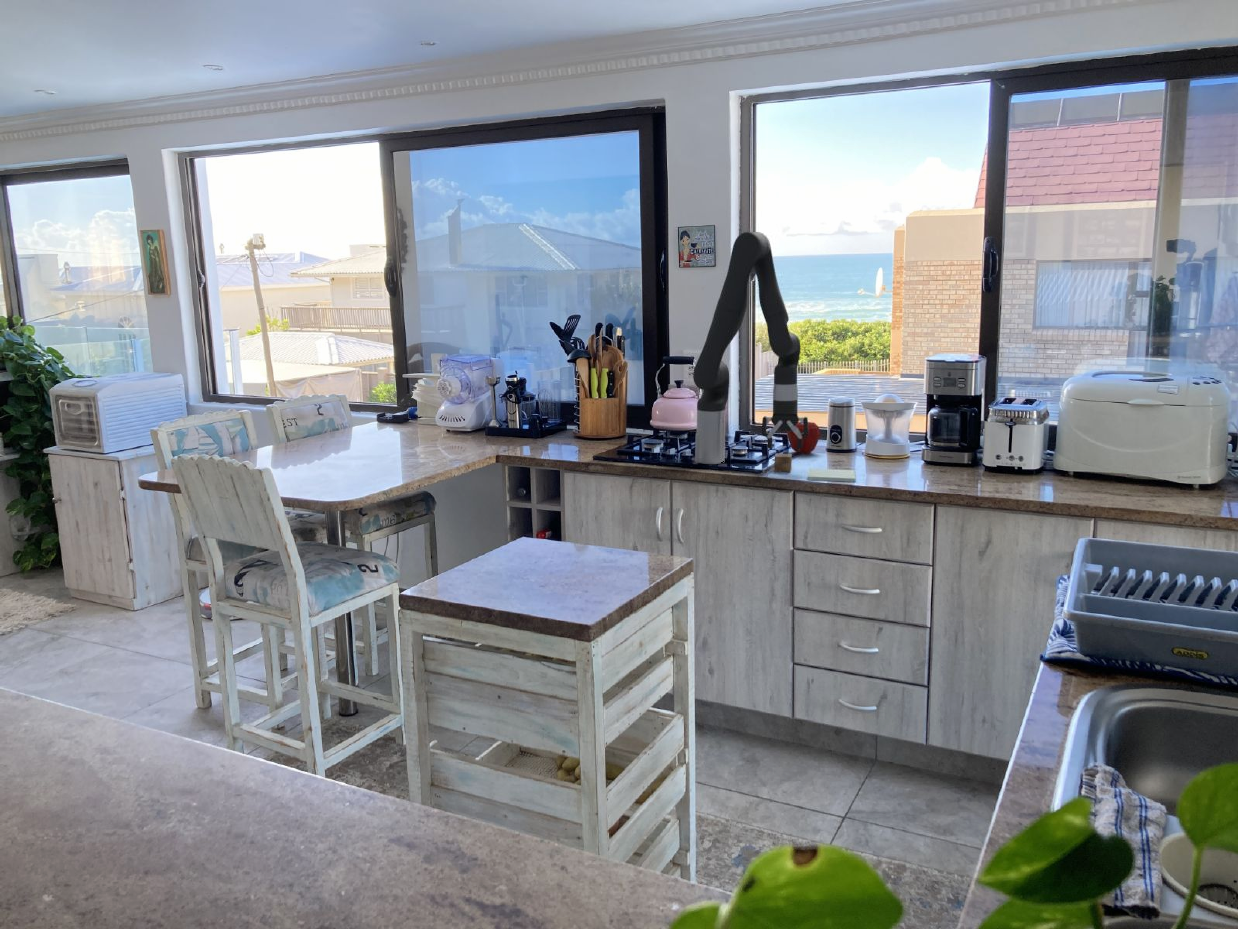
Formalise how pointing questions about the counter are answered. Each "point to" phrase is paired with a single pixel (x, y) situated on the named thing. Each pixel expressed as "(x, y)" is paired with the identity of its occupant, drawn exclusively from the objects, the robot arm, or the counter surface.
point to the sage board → (831, 475)
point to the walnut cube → (783, 463)
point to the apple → (805, 438)
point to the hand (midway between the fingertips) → (784, 450)
